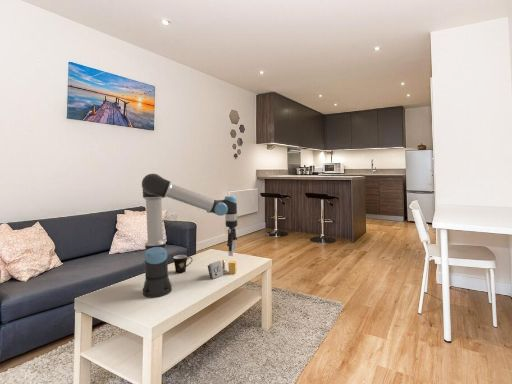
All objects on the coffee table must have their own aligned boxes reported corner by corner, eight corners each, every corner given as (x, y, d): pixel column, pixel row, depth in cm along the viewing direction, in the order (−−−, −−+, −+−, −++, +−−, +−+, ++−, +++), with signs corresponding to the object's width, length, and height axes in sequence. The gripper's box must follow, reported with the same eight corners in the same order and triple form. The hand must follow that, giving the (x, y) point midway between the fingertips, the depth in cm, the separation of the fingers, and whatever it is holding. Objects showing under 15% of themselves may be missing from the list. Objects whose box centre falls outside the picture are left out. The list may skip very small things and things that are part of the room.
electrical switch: (213, 279, 173) (211, 264, 173) (207, 278, 176) (206, 263, 176) (224, 275, 180) (222, 260, 180) (218, 274, 183) (217, 259, 183)
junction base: (220, 272, 185) (220, 270, 185) (219, 270, 189) (219, 267, 189) (227, 271, 186) (227, 269, 186) (226, 269, 190) (226, 267, 190)
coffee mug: (172, 274, 183) (171, 258, 182) (175, 269, 192) (175, 255, 191) (190, 273, 183) (190, 258, 183) (193, 269, 192) (192, 254, 191)
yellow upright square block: (235, 273, 182) (235, 263, 181) (228, 273, 182) (228, 263, 182) (236, 271, 186) (236, 260, 186) (229, 271, 186) (229, 260, 186)
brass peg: (222, 269, 186) (222, 260, 186) (222, 268, 188) (222, 260, 188) (225, 268, 187) (224, 260, 187) (224, 268, 188) (224, 260, 188)
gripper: (234, 223, 169) (235, 258, 171) (239, 217, 194) (241, 247, 195) (221, 223, 170) (223, 258, 171) (229, 217, 195) (230, 247, 196)
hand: (232, 252), depth 183 cm, fingers open, 13 cm apart
